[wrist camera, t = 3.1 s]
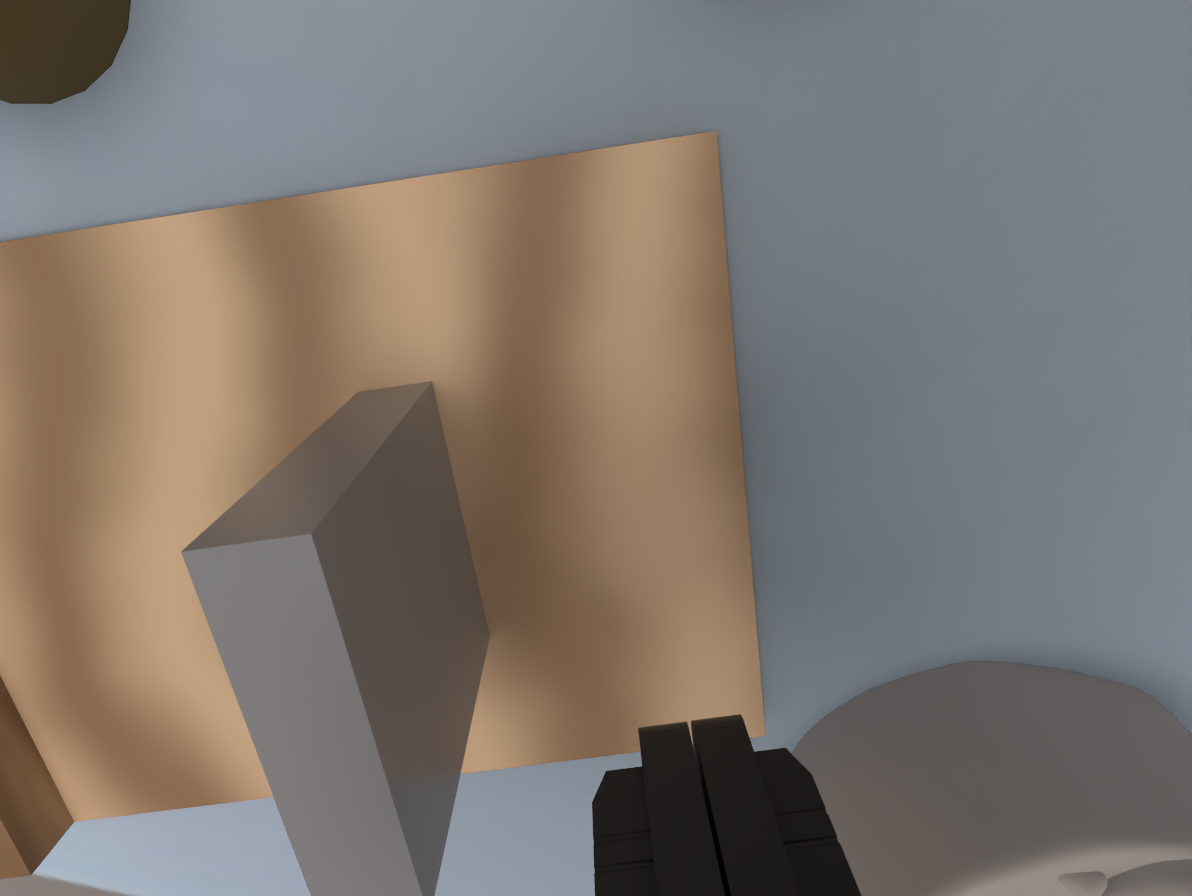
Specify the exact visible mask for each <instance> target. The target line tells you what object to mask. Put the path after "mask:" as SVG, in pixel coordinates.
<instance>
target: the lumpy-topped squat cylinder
mask: <svg viewBox="0 0 1192 896" xmlns="http://www.w3.org/2000/svg"><path fill="white" fill-rule="evenodd" d="M792 755H793V756H794V757H795V758H796V759H797V760H798V761H799V762H800V763H801V764H802V765H803V766H804V767H805V768H806V769H807V770H808V771H809V772H810V773H811V774H812V776H813V778H814V781H815V783H816V785H817V788H818V790H819V793H820V795H821V798H822V800H823V803H824V805H825V808H826V813H827V814H828V815H829V817H830V820H831V822H832V825H833V827H834V829H835V832H836V834H837V839H838V842H839V843H840V844H841V847H842V849H843V851H844V854H845V856H846V859H847V861H848V864H849V866H850V869H851V871H852V873H853V876H854V878H855V881H856V883H857V886H858V888H859V891H860V893H861V895H862V896H1192V733H1191V732H1190V731H1189V730H1188V729H1187V728H1186V727H1185V726H1184V725H1182V724H1181V723H1180V722H1179V721H1178V720H1177V719H1176V718H1175V717H1174V716H1173V715H1171V714H1170V713H1169V712H1168V711H1167V710H1166V709H1165V708H1164V707H1163V706H1162V705H1160V704H1159V703H1158V702H1157V701H1156V700H1155V699H1153V698H1152V697H1151V696H1149V695H1147V694H1146V693H1144V692H1142V691H1140V690H1138V689H1135V688H1133V687H1130V686H1127V685H1124V684H1120V683H1117V682H1113V681H1109V680H1104V679H1100V678H1096V677H1092V676H1088V675H1084V674H1080V673H1076V672H1071V671H1066V670H1060V669H1054V668H1048V667H1041V666H1033V665H1025V664H1016V663H1005V662H988V661H972V662H961V663H955V664H950V665H945V666H941V667H937V668H934V669H930V670H926V671H923V672H919V673H916V674H913V675H909V676H906V677H903V678H900V679H897V680H894V681H891V682H888V683H885V684H883V685H880V686H877V687H875V688H872V689H870V690H868V691H866V692H864V693H862V694H860V695H858V696H856V697H854V698H853V699H851V700H849V701H848V702H846V703H844V704H843V705H841V706H840V707H838V708H837V709H835V710H834V711H832V712H831V713H830V714H828V715H827V716H826V717H824V718H823V719H822V720H820V721H819V722H818V723H817V724H816V725H815V726H813V727H812V728H811V729H810V730H809V731H808V732H807V733H806V734H805V735H804V737H803V738H802V739H801V740H800V741H799V743H798V744H797V746H796V747H795V749H794V751H793V753H792Z"/></svg>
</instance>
